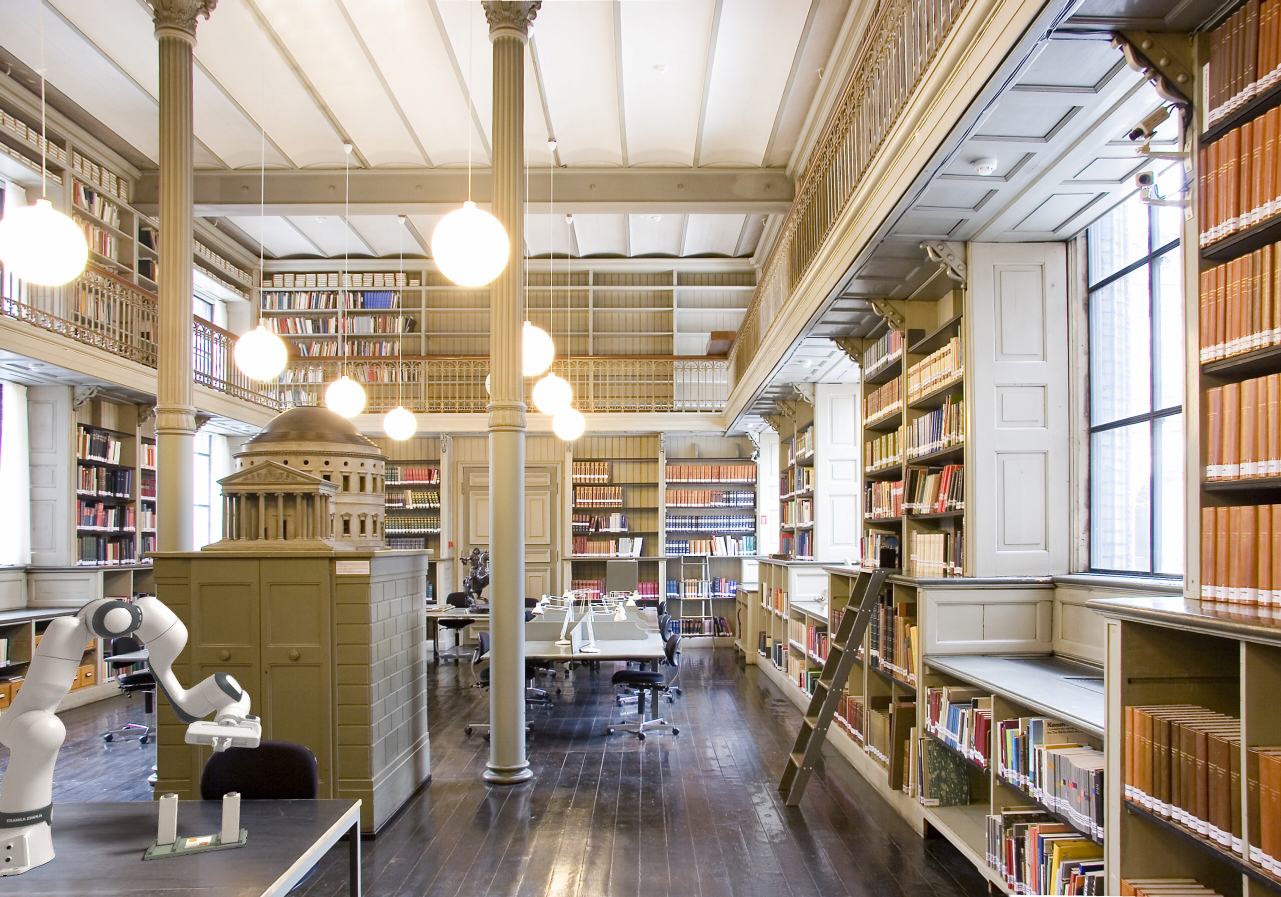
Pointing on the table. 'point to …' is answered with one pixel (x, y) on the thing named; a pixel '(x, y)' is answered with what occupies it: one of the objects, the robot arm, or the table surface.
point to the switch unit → (191, 845)
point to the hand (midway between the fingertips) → (218, 749)
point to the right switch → (230, 817)
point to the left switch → (167, 819)
